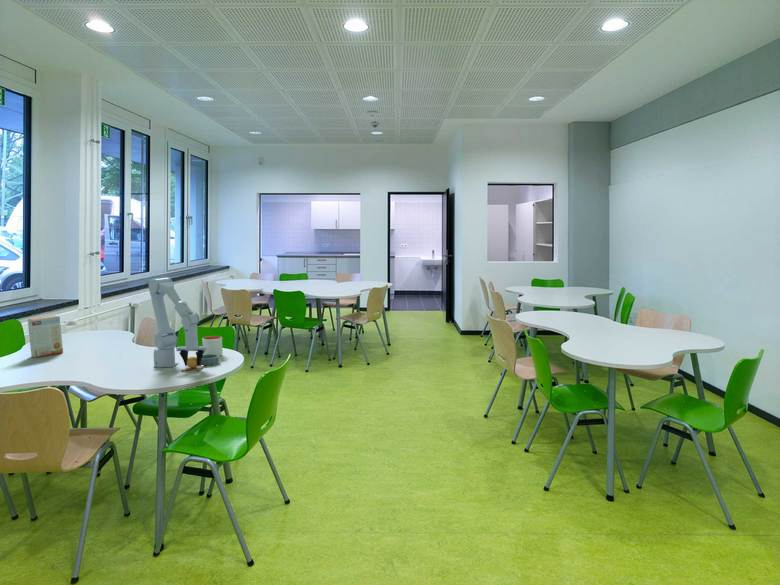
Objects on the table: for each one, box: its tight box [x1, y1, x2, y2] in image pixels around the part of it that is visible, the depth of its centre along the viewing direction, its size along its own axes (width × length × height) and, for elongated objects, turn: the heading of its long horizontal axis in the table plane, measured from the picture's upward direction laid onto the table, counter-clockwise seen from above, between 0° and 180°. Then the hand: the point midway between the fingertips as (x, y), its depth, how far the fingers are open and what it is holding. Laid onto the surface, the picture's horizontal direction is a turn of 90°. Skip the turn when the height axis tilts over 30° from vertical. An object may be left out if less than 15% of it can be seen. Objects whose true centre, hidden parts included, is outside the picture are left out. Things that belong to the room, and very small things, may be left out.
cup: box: [201, 335, 223, 357], centre depth 287 cm, size 10×10×10 cm
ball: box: [186, 356, 197, 368], centre depth 259 cm, size 6×6×6 cm
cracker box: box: [27, 315, 64, 359], centre depth 291 cm, size 14×6×21 cm, turn 146°
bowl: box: [195, 354, 220, 366], centre depth 271 cm, size 11×11×4 cm
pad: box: [181, 366, 205, 372], centre depth 260 cm, size 8×8×1 cm
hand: (192, 365), depth 259 cm, fingers closed on ball, 5 cm apart
